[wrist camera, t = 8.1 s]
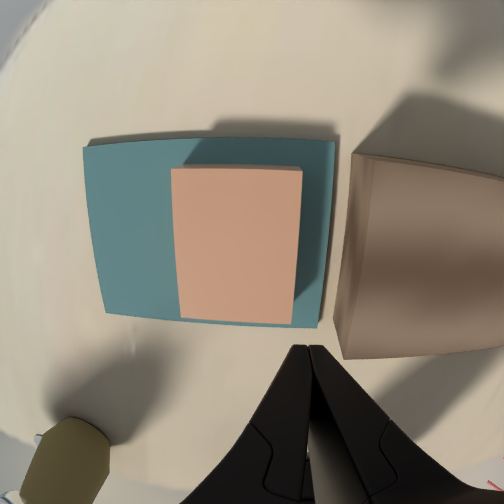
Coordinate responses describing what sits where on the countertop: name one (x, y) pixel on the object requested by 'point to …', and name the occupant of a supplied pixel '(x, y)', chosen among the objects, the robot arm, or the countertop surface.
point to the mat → (161, 218)
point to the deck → (420, 260)
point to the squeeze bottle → (67, 465)
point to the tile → (236, 240)
